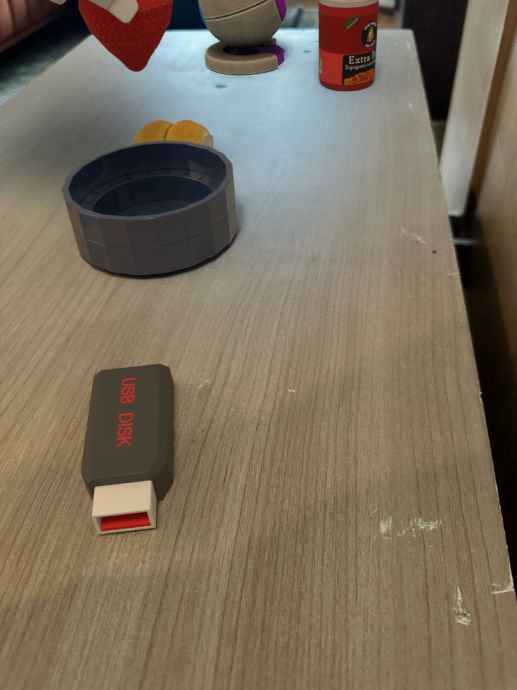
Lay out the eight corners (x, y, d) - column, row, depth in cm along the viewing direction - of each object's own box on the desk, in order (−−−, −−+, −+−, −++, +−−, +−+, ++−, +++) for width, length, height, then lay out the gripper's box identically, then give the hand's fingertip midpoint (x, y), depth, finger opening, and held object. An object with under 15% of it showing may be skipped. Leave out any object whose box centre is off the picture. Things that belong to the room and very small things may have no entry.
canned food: (348, 96, 85) (351, 5, 78) (306, 82, 90) (305, -5, 83) (386, 80, 89) (392, -9, 82) (344, 68, 94) (346, -17, 87)
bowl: (93, 298, 54) (76, 236, 50) (68, 216, 65) (52, 160, 61) (261, 254, 58) (257, 193, 54) (210, 183, 69) (203, 129, 65)
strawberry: (187, 76, 53) (169, -66, 47) (95, 89, 52) (63, -54, 46) (177, 55, 57) (159, -77, 51) (92, 67, 56) (63, -67, 50)
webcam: (289, 72, 94) (285, -47, 84) (202, 77, 94) (188, -40, 85) (287, 45, 104) (283, -64, 94) (208, 50, 104) (196, -58, 94)
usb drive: (173, 382, 46) (167, 354, 44) (173, 528, 37) (165, 499, 35) (100, 391, 46) (91, 362, 44) (82, 538, 37) (70, 510, 35)
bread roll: (150, 140, 78) (144, 107, 76) (220, 144, 76) (216, 110, 74) (122, 171, 72) (115, 136, 70) (198, 175, 70) (193, 140, 68)
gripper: (-44, -182, 35) (162, -2, 42) (6, -188, 50) (152, -55, 58) (-95, -77, 38) (109, 76, 45) (-32, -113, 53) (112, 5, 60)
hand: (133, 2), depth 51 cm, fingers closed on strawberry, 6 cm apart
